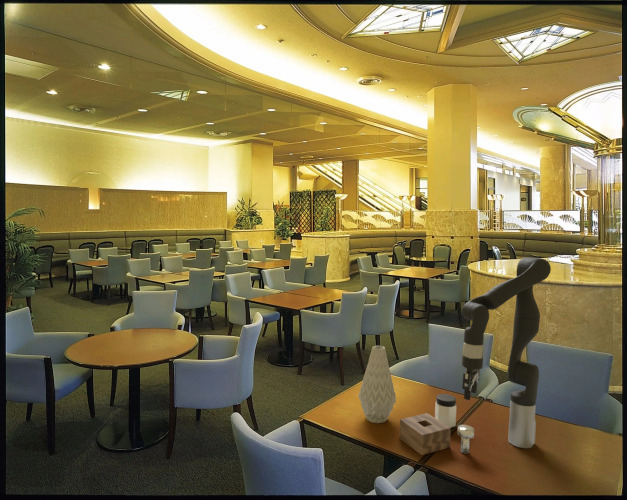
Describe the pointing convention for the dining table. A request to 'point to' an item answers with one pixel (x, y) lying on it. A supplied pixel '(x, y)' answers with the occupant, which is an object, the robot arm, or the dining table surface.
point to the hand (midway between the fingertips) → (470, 396)
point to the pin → (465, 437)
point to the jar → (446, 409)
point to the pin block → (424, 433)
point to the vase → (377, 387)
